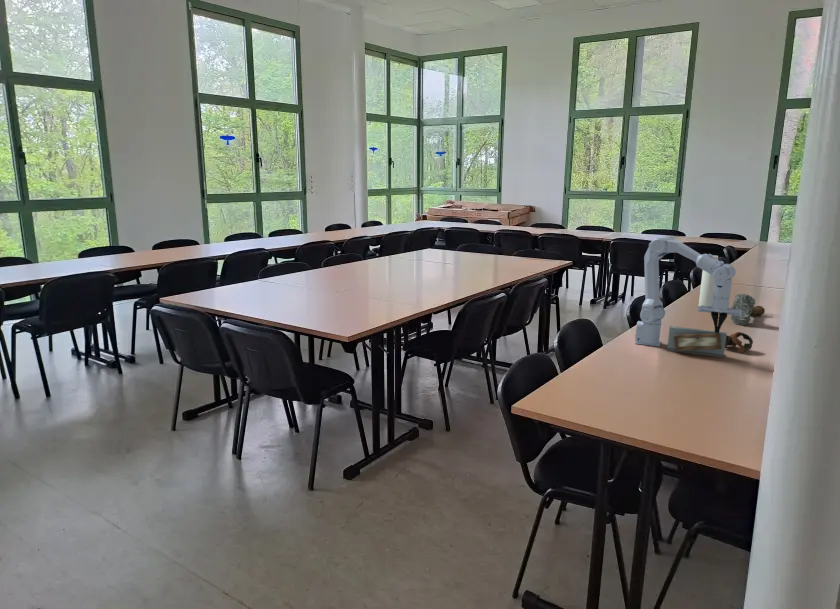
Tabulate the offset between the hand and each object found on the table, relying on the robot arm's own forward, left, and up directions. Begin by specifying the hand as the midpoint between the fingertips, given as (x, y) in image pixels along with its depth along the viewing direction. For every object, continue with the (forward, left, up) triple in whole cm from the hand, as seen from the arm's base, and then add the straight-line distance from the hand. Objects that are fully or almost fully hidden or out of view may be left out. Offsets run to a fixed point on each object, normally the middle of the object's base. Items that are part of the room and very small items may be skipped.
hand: (716, 332), depth 215 cm
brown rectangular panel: (-6, +1, -8) cm, 9 cm away
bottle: (-2, +91, -10) cm, 92 cm away
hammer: (+16, +74, -11) cm, 76 cm away
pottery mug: (+7, +16, -11) cm, 20 cm away
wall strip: (-7, +3, -10) cm, 13 cm away
